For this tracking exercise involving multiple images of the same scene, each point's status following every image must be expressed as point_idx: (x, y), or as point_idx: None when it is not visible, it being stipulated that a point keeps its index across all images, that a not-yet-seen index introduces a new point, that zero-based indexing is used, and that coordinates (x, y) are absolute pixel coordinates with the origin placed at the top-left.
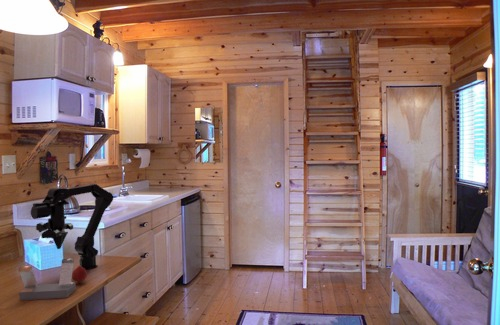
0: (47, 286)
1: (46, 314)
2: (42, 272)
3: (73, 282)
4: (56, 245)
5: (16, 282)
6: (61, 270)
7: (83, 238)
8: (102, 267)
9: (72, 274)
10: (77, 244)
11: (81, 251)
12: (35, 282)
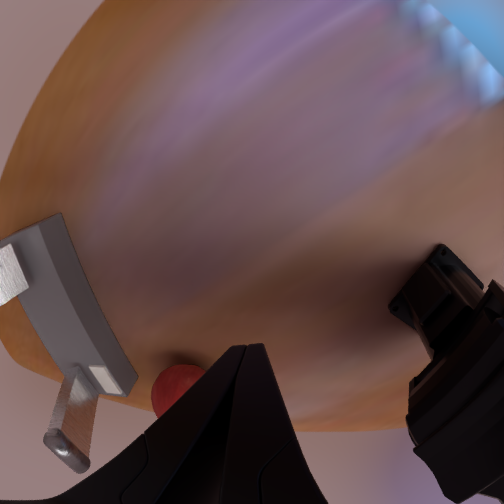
0: (57, 316)
1: (22, 359)
2: (352, 22)
3: (120, 393)
4: (194, 394)
5: (153, 4)
6: (55, 409)
7: (467, 489)
8: (420, 360)
9: (154, 386)
10: (476, 402)
11: (418, 393)
12: (12, 296)
